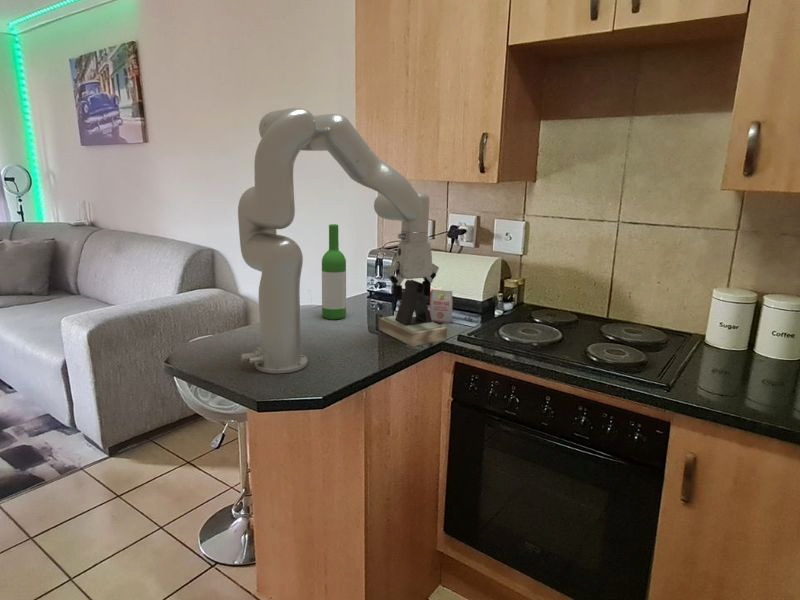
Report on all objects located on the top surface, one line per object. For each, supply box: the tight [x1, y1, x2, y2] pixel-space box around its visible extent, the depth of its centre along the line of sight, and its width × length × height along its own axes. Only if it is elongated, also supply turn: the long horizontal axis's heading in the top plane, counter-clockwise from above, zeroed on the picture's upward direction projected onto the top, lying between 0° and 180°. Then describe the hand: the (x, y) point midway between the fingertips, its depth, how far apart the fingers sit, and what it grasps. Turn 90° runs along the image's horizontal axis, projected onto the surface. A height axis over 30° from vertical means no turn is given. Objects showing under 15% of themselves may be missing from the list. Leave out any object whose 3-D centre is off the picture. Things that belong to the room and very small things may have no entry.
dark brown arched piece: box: [395, 279, 433, 326], centre depth 154 cm, size 9×6×12 cm, turn 119°
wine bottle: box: [321, 224, 347, 320], centre depth 170 cm, size 8×8×30 cm
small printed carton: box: [429, 289, 454, 324], centre depth 172 cm, size 4×7×10 cm, turn 74°
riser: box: [378, 313, 448, 347], centre depth 156 cm, size 12×18×4 cm, turn 32°
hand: (411, 296), depth 154 cm, fingers open, 9 cm apart
